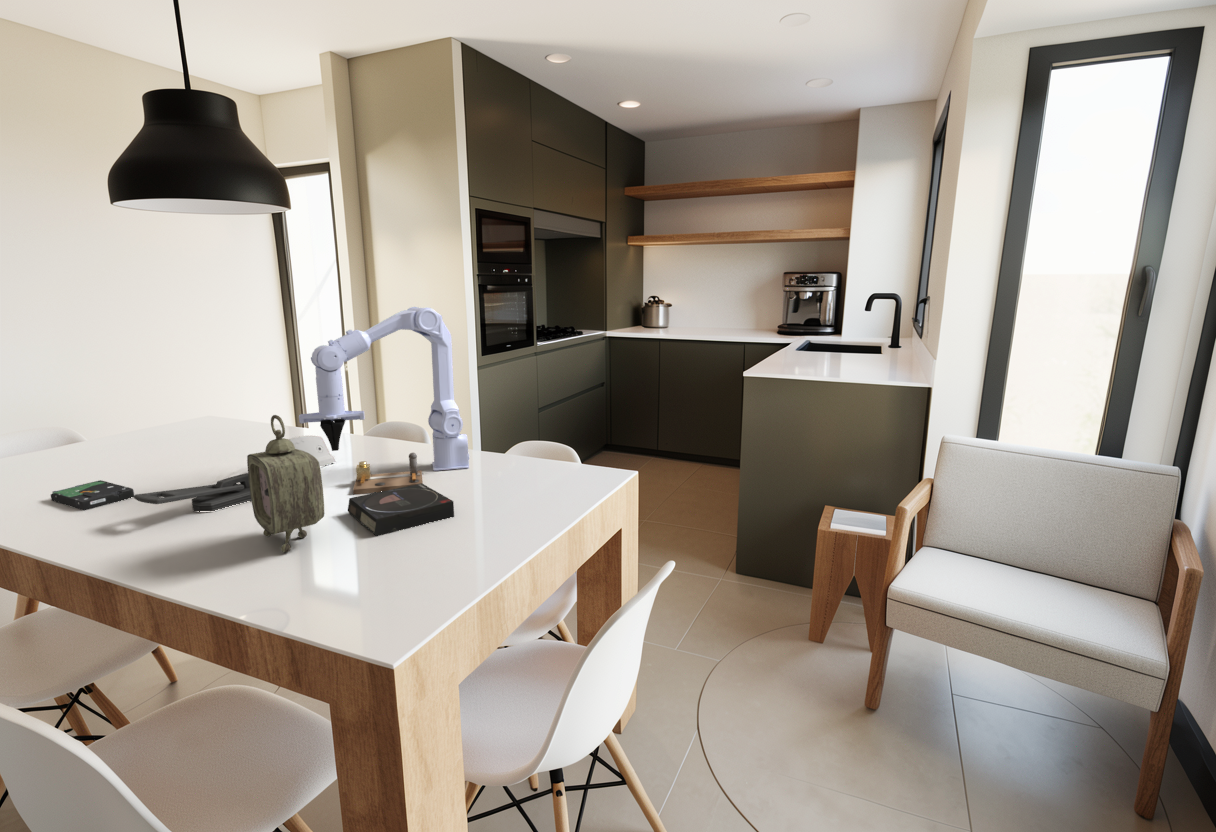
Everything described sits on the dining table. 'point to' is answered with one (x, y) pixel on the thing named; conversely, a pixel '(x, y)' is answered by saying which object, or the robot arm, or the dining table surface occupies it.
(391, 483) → the plate
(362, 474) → the gold perfume bottle
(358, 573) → the dining table surface
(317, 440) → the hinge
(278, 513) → the tabletop clock
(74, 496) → the disk drive
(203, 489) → the dark grey long piece
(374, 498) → the portable cd player
